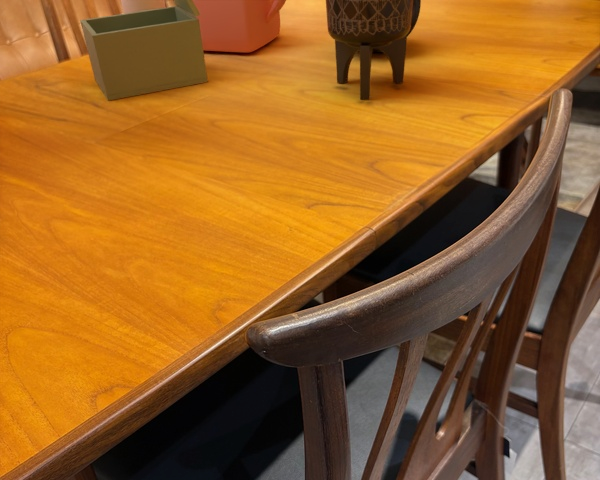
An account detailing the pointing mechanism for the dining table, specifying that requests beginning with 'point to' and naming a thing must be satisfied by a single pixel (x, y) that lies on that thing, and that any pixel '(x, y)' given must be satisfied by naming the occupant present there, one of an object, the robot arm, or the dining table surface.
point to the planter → (369, 35)
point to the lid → (188, 6)
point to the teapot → (238, 23)
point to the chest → (145, 51)
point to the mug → (141, 5)
